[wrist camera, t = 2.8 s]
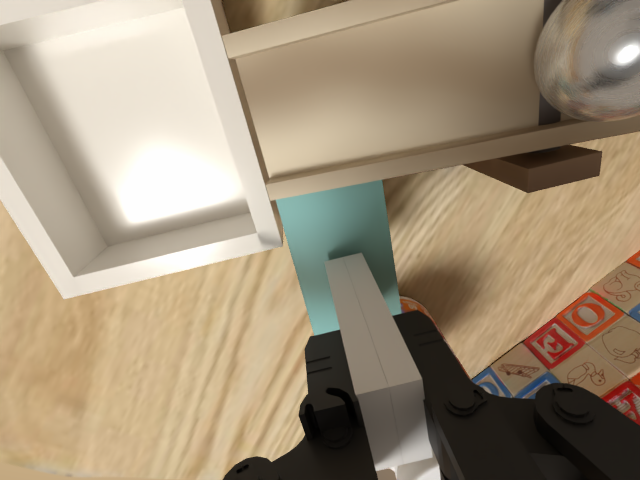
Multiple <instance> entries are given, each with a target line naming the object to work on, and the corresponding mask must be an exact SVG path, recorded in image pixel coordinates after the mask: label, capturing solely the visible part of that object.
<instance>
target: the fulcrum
mask: <svg viewBox="0 0 640 480" xmlns="http://www.w3.org/2000/svg"><path fill="white" fill-rule="evenodd" d="M601 158H602V151H597V150H592V149H587V148H582V147H577V146H572V145H564V146H561V148H560V149H557V150H554V151H550V152H544V153H521V154H516V155H510V156H505V157H500V158H495V159H489V160H484V161H479V162H473V163H468V164H463V165H464V166H467V167H469V168H471V169H474V170H476V171H478V172H480V173H483V174H485V175H487V176H490V177H492V178H494V179H497V180H499V181H501V182H504V183H506V184H508V185H511V186H513V187H515V188H517V189H520V190H522V191H524V192H527V193H530V192H534V191H538V190H543V189H547V188H551V187H555V186H559V185H563V184H567V183H571V182H576V181H580V180H584V179H588V178H592V177H596V176H599V174H600V166H601Z"/></svg>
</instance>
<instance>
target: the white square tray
mask: <svg viewBox="0 0 640 480" xmlns="http://www.w3.org/2000/svg"><path fill="white" fill-rule="evenodd" d="M227 34H230V30H229V26H228V23H227V19H226V16H225V12H224V9H223V5H222V2H221V0H0V200H1V201H2V203H3V205H4V206H5V208H6V209H7V211H8V212H9V214H10V216H11V217H12V219H13V220H14V222H15V223H16V225H17V227H18V228H19V230H20V231H21V233H22V234H23V236H24V237H25V239H26V241H27V242H28V244H29V245H30V247H31V248H32V250H33V252H34V253H35V255H36V256H37V258H38V259H39V261H40V263H41V264H42V266H43V267H44V269H45V270H46V272H47V273H48V275H49V277H50V278H51V280H52V281H53V283H54V284H55V286H56V288H57V289H58V291H59V292H60V294H61V295H62V297H63V299H67V298H71V297H76V296H80V295H84V294H88V293H92V292H96V291H100V290H104V289H109V288H113V287H117V286H121V285H125V284H129V283H133V282H137V281H142V280H146V279H150V278H154V277H158V276H162V275H166V274H170V273H175V272H179V271H183V270H187V269H191V268H195V267H199V266H203V265H208V264H212V263H216V262H220V261H224V260H228V259H232V258H236V257H241V256H245V255H249V254H253V253H257V252H261V251H265V250H269V249H274V248H278V247H282V246H283V224H282V221H281V217H280V214H279V210H278V207H277V203H276V200H271V201H270V198H269V195H268V192H267V188H266V183H267V182H268V181H269V175H268V172H267V168H266V165H265V161H264V158H263V154H262V151H261V147H260V144H259V140H258V137H257V133H256V130H255V126H254V123H253V119H252V116H251V112H250V109H249V105H248V102H247V98H246V95H245V91H244V88H243V85H242V81H241V78H240V74H239V71H238V67H237V64H236V60H235V59H230V58H228V55H227V52H226V49H225V45H224V42H223V38H222V36H223V35H227Z"/></svg>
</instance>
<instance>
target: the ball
mask: <svg viewBox="0 0 640 480" xmlns="http://www.w3.org/2000/svg"><path fill="white" fill-rule="evenodd" d="M534 73H535V79H536V82H537V85H538V88H539V90H540V92H541V94H542V96H543V97H544V98H545V99H546V101H547V102H548V103H549V104H550V105H551V106H552V107H553V108H555V109H556V110H558V111H559V112H561V113H563V114H565V115H567V116H569V117H572V118H575V119H578V120H584V121H593V122H608V121H617V120H623V119H627V118H631V117H635V116H637V115H640V0H562V1H561V2H560V4H559V5H558V6H557V7H556V9H555V10H554V11H553V12H552V14H551V16H550V17H549V19H548V20H547V22H546V24H545V26H544V28H543V30H542V32H541V34H540V37H539V39H538V42H537V46H536V50H535V56H534Z"/></svg>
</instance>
